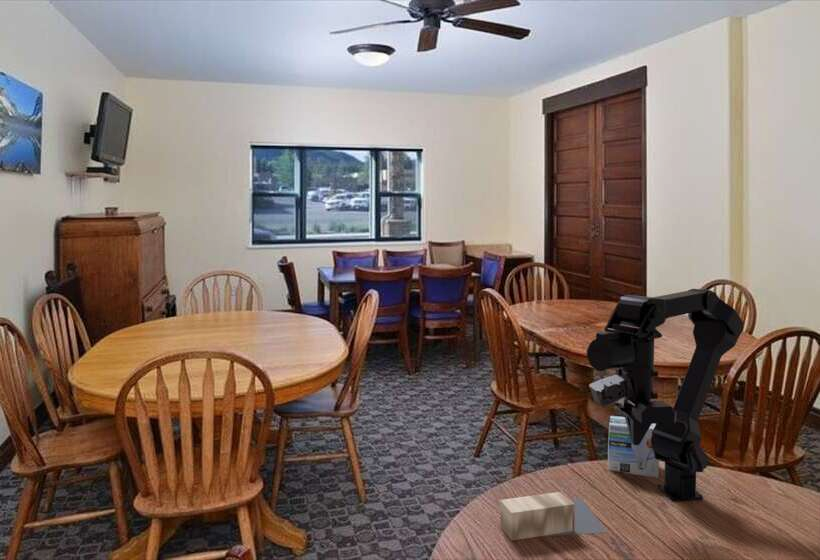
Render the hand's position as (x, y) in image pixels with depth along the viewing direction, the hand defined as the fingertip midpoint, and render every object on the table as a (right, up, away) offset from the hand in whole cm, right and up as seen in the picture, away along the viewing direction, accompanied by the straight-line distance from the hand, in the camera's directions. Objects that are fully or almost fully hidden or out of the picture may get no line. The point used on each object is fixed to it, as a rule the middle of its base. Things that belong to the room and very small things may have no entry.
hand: (635, 444), depth 113 cm
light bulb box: (+7, -11, +20) cm, 24 cm away
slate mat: (-16, -14, -1) cm, 21 cm away
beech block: (-14, -11, -4) cm, 18 cm away
